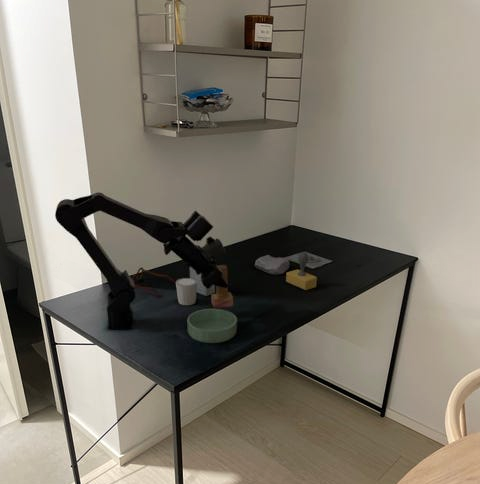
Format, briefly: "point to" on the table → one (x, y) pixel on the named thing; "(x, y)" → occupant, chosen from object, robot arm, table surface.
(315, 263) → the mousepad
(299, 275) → the rubber stamp
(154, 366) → the table surface
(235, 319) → the bowl
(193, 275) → the medicine box
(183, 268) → the table surface
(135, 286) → the glasses
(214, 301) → the brown stepped block
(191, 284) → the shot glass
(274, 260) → the stone block
